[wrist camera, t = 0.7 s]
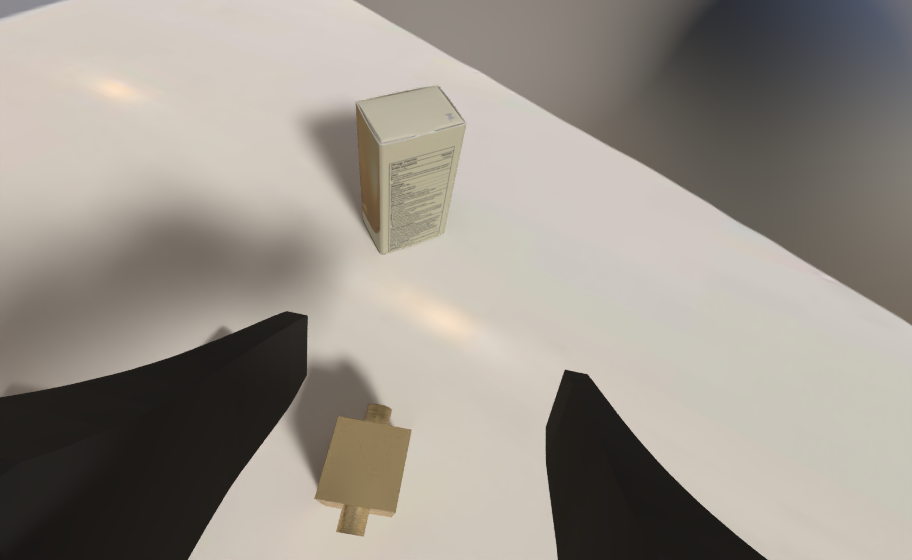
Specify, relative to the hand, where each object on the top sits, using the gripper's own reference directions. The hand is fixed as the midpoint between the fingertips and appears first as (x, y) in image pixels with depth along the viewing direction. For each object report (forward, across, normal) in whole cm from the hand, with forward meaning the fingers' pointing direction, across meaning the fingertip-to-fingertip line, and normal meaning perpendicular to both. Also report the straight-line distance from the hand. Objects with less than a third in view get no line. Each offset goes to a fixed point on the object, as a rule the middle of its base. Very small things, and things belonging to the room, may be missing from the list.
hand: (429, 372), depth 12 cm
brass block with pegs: (+9, +4, +16) cm, 19 cm away
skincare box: (+26, +7, +5) cm, 27 cm away
